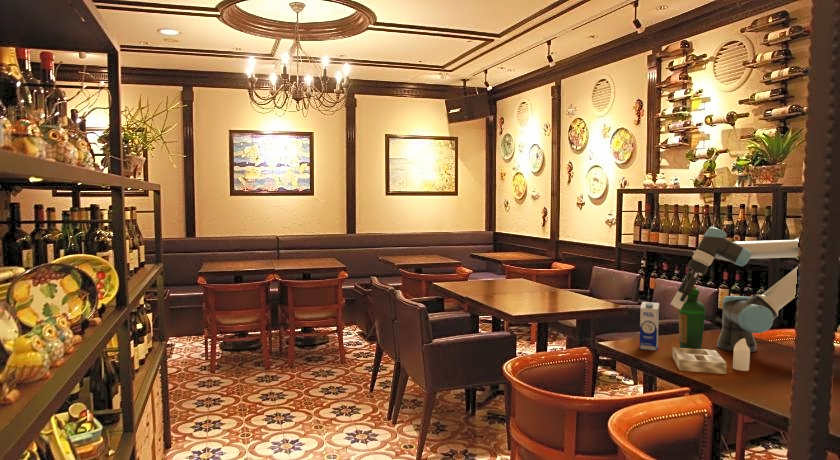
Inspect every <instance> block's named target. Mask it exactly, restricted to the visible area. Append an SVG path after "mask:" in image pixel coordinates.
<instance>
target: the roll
mask: <svg viewBox="0 0 840 460" xmlns="http://www.w3.org/2000/svg"><path fill="white" fill-rule="evenodd" d="M732 352H733V355H732V357H733V358H732V369H734V370H736V371H741V372H742V371H743V372H749V370H750V363H751V358H750V357H751V352H750V349H749V347H748V346H747V344H746V340H745V338H743V339H741V340H739V341H738V342H737V343H736V344H735V347H734V351H732Z"/></svg>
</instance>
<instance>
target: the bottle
mask: <svg viewBox="0 0 840 460" xmlns="http://www.w3.org/2000/svg"><path fill="white" fill-rule="evenodd" d="M699 296H700V290H699V288H697V285H696V284H695V285H694V287H693V289H692V291H691V294H689V295H688V297H687V299H686V301H685V303H684V304H683V306H682V308H681V310H680V309H678V331H679V333H678V335H679V337H678V338H679V348H691V349H703V348H702V347H703V339H704V338H703V336H704V335H703V334H704V327H705V316H706V306H705V305H704V303H702V302H701V301H700V300H698V297H699Z"/></svg>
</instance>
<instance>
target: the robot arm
mask: <svg viewBox="0 0 840 460" xmlns="http://www.w3.org/2000/svg"><path fill="white" fill-rule="evenodd" d="M727 235H728V234H727V232H725V231H723V230H722V229H719V228H717V227H715V226H710V227H708V229H706V231H705V233H704V235H703V236H702V238H701V241H700V242H699V245H698V246H697V248H696V250H693V252H692V253H693V255H692V257H691V259H690V261H688V263H687V268H688V269H691V270H689V271H688V272H687V274H686V276H685V278H684V280H682V283H681V284H680V285H679V286H678V288H677V291H676V293H675V295H674V297H673V299H672V301H671V302H670V305H671V306H673V307H674V308H676V309H678V310H679V309H680V310H681V308H682V306H683V304H684V303H685V301H686V300H687V297H688V295H689V294H691V291H692V289H693V287H694V285H695V286H696V283H697V281H698V279H699V277H700V274H701V275H706V273H707V272H708V269H709V266H711V265H712V263H713V261H714V260H715V259H717V260H723V261H727V262H730V263H732V264H733V265H737V266H740V267H744V266H746V265H747V264H748V262H749V261H750V260H751V259H780V258H781V259H782V258H785V259H787V258H788V259H789V258H795V259H797V260H799V259H798V258H797V256H798V243H799V237H800V236H799V237H796V238H794V239H780V240H779V239H778V240H777V239H776V240H751V241H750V240H747V241H744V240H742V241H731V240H729V239H728V238H727ZM798 266H799V265H797V266H796V267H795V268H794V269H792V270H791V271H790V272H788V273H787V274H785V276H783V277H782V278H781V279H780V280H778V281H777V282H776V283H774V284H773V285H772V286H771V287H769V288H768V289H767V290H765V292H763V293H762V294H757V293H756V294H754V295H753V296H742V295H741V296H739V295H738V296H737V295H735V296H734V295H726V296H724V297H723V299H722V303H721V305H722V321H721V324H722V325H721V326H722V327H721V332H720V333H719V337H718V339H717V342H716V343H717V344H716V346H717V348H719V349H722V350H725V351H729V352H734V347H735V344H736V343H737V342H738V341H739V340H741V339H743V338H745V340H746V344H747V346H748V347H749V349H750V353H754V352H757V343H756V339H755V337H754V334H761V333H765V332H767V331H768V330H770V329H771V328H772V326H773V324H774V320H775V319H776V318H777V317H778V316H779V311H780V310H781V309H782V308H783V307H785V306H786V305H788V303H790V302H792V301H793V299H796V297H795V295H796V284H797V269H798Z"/></svg>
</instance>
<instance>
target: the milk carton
mask: <svg viewBox="0 0 840 460" xmlns="http://www.w3.org/2000/svg"><path fill="white" fill-rule="evenodd" d="M659 314H660V303H659V302H650V301H649V302H648V301H642V302H641V304H640V315H639V317H640V320H639V350H643V351H644V350H645V351H653V352H657V350H658V348H659V322H660V319H659V318H660V315H659Z"/></svg>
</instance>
